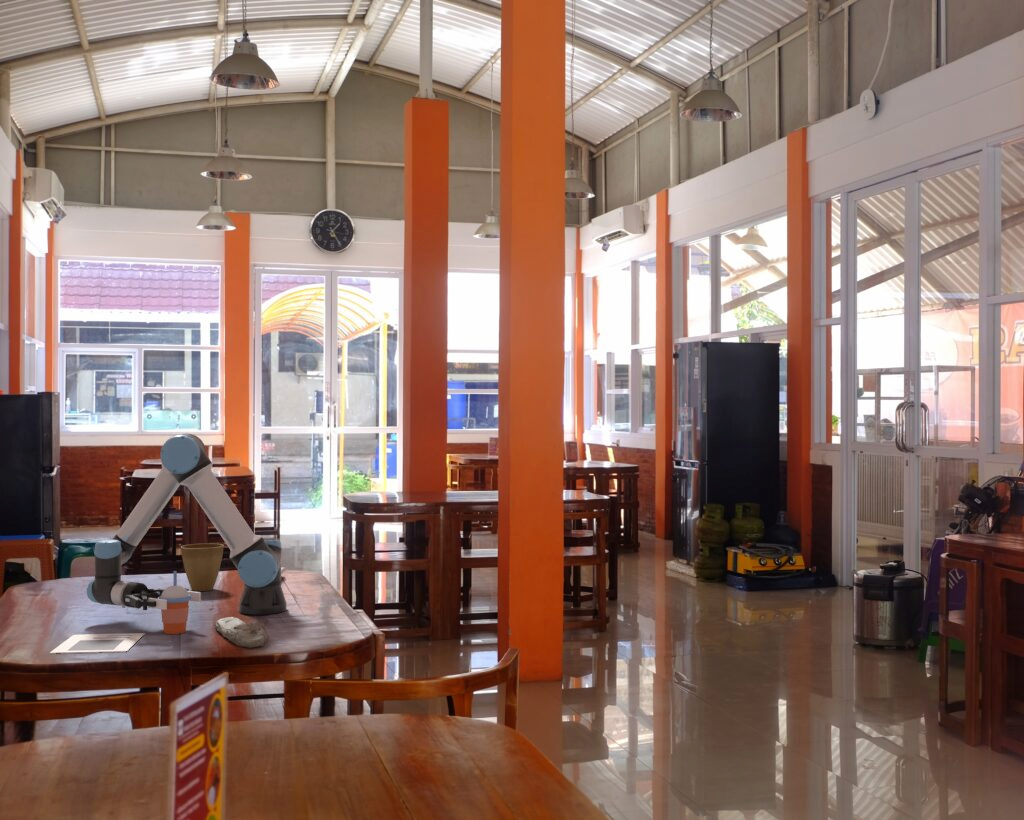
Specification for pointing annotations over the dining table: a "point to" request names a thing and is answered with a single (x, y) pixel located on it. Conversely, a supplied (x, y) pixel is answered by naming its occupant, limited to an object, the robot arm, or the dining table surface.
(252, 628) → the elongated rock
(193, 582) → the plant pot
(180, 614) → the cup with straw
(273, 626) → the dining table surface
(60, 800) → the dining table surface
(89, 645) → the picture frame
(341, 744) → the dining table surface
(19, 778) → the dining table surface
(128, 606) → the robot arm
